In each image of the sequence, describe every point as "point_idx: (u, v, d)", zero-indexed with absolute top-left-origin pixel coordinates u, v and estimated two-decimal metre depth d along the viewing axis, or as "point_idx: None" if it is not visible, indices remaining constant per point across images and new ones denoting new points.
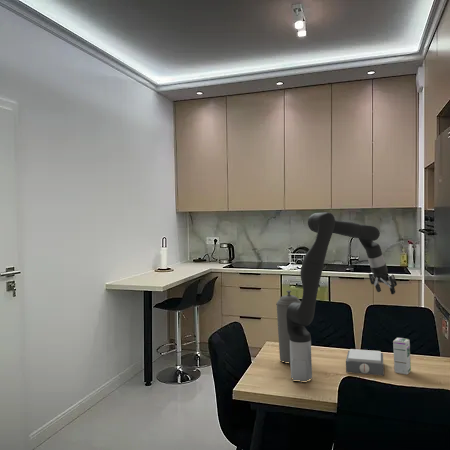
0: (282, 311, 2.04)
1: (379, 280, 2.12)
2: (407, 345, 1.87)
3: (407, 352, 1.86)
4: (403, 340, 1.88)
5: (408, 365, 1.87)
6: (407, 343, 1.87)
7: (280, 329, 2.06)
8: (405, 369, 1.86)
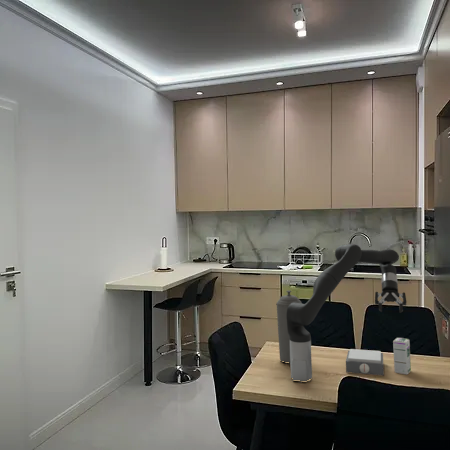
0: (282, 311, 2.04)
1: (388, 297, 2.05)
2: (407, 345, 1.87)
3: (407, 352, 1.86)
4: (403, 340, 1.88)
5: (408, 365, 1.87)
6: (407, 343, 1.87)
7: (280, 329, 2.06)
8: (405, 369, 1.86)
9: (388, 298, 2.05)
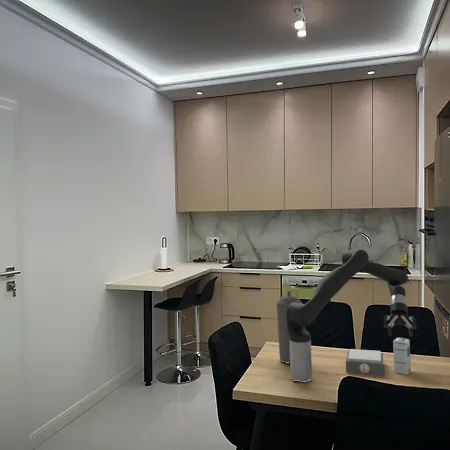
0: (282, 311, 2.04)
1: (397, 320, 2.00)
2: (407, 345, 1.87)
3: (407, 352, 1.86)
4: (403, 340, 1.88)
5: (408, 365, 1.87)
6: (407, 343, 1.87)
7: (280, 329, 2.06)
8: (405, 369, 1.86)
9: (397, 321, 1.99)
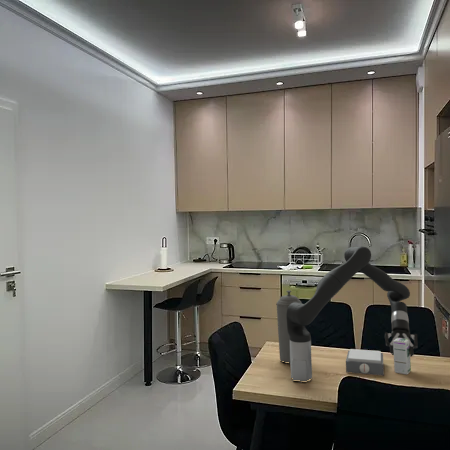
0: (282, 311, 2.04)
1: None
2: (407, 345, 1.87)
3: (407, 352, 1.86)
4: (403, 340, 1.88)
5: (408, 365, 1.87)
6: (407, 343, 1.87)
7: (280, 329, 2.06)
8: (405, 369, 1.86)
9: None
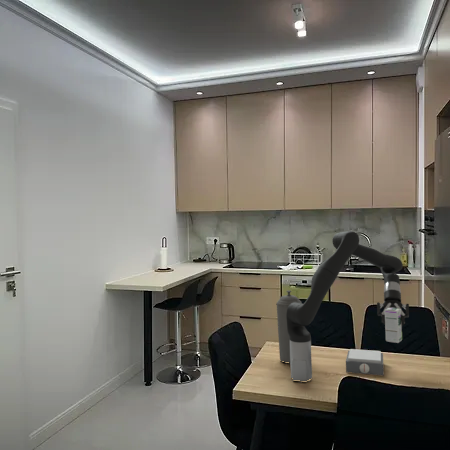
0: (282, 311, 2.04)
1: (391, 307, 1.93)
2: (398, 314, 1.88)
3: (398, 321, 1.87)
4: (395, 309, 1.89)
5: (399, 334, 1.88)
6: (398, 312, 1.88)
7: (280, 329, 2.06)
8: (396, 337, 1.87)
9: None
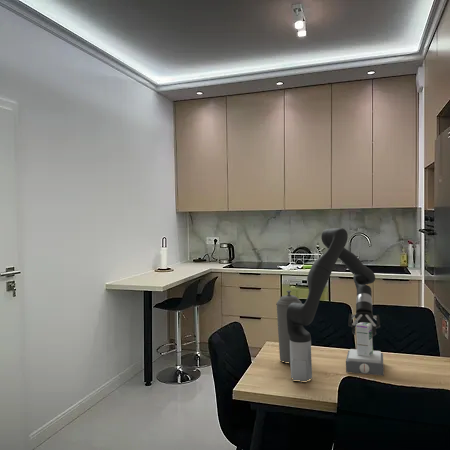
0: (282, 311, 2.04)
1: (361, 319, 1.99)
2: (369, 328, 1.94)
3: (369, 335, 1.93)
4: (365, 324, 1.95)
5: (370, 348, 1.93)
6: (369, 326, 1.94)
7: (280, 329, 2.06)
8: (367, 351, 1.93)
9: (362, 320, 1.98)
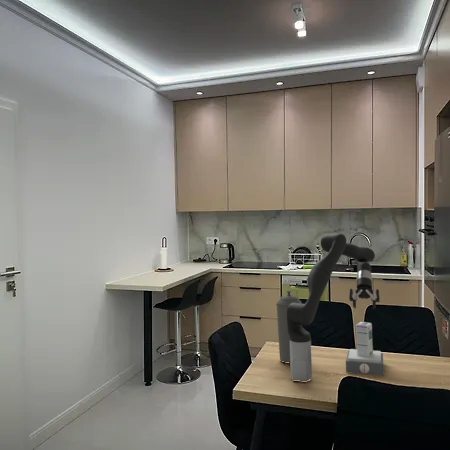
0: (282, 311, 2.04)
1: (362, 294, 2.10)
2: (369, 328, 1.94)
3: (369, 335, 1.93)
4: (365, 324, 1.95)
5: (370, 348, 1.93)
6: (369, 326, 1.94)
7: (280, 329, 2.06)
8: (367, 351, 1.93)
9: (362, 295, 2.09)
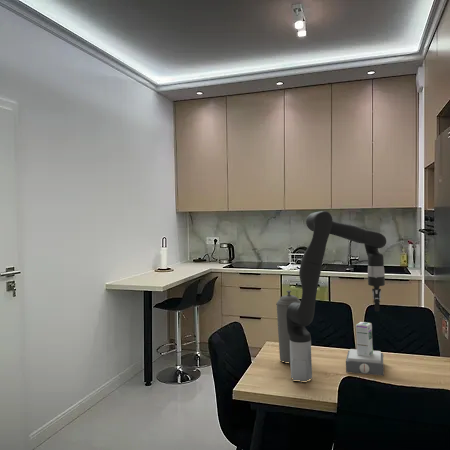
0: (282, 311, 2.04)
1: None
2: (369, 328, 1.94)
3: (369, 335, 1.93)
4: (365, 324, 1.95)
5: (370, 348, 1.93)
6: (369, 326, 1.94)
7: (280, 329, 2.06)
8: (367, 351, 1.93)
9: None
